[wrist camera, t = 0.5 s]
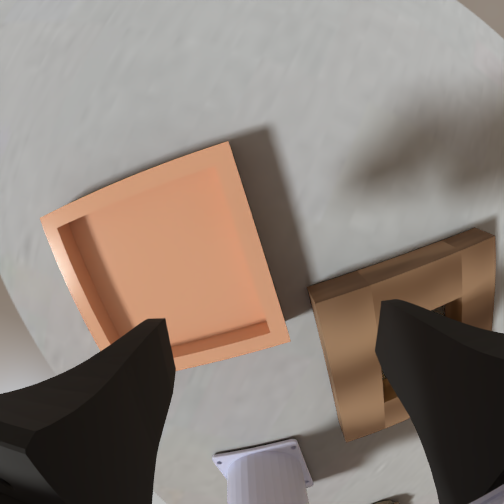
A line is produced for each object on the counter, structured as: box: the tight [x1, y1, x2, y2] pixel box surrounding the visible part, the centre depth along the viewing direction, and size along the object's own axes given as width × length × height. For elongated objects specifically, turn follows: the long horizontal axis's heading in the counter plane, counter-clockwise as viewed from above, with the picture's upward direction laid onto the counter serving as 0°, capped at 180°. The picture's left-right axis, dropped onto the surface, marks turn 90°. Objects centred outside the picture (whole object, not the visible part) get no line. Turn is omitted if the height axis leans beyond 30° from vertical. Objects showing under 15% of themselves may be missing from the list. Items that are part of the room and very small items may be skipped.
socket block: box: [307, 228, 496, 443], centre depth 21 cm, size 14×14×2 cm
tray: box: [40, 141, 291, 371], centre depth 19 cm, size 12×12×2 cm
